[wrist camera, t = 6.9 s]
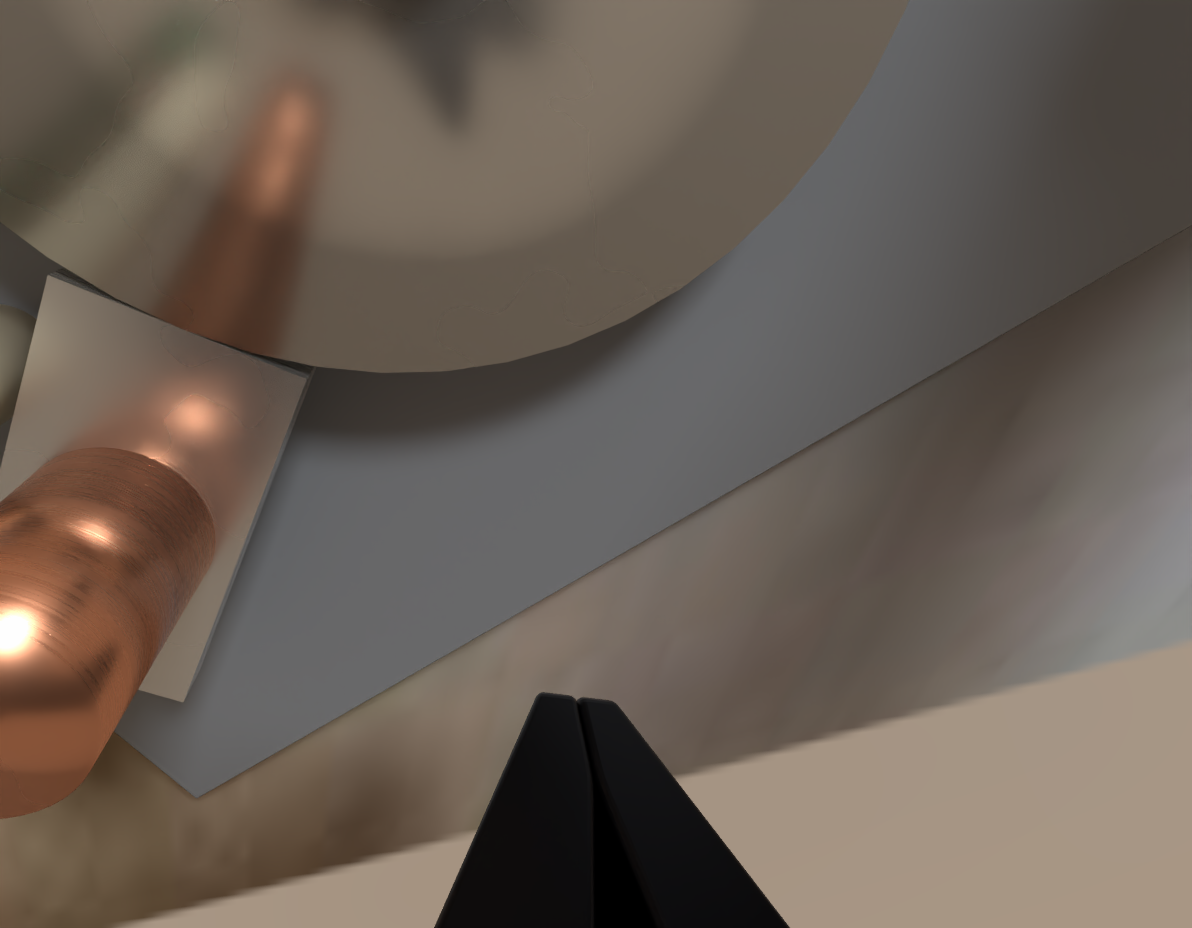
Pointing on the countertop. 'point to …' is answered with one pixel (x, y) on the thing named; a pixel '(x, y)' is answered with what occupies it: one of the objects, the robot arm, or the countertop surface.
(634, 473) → the slate board
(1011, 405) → the countertop surface
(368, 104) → the flange plate
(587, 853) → the robot arm
